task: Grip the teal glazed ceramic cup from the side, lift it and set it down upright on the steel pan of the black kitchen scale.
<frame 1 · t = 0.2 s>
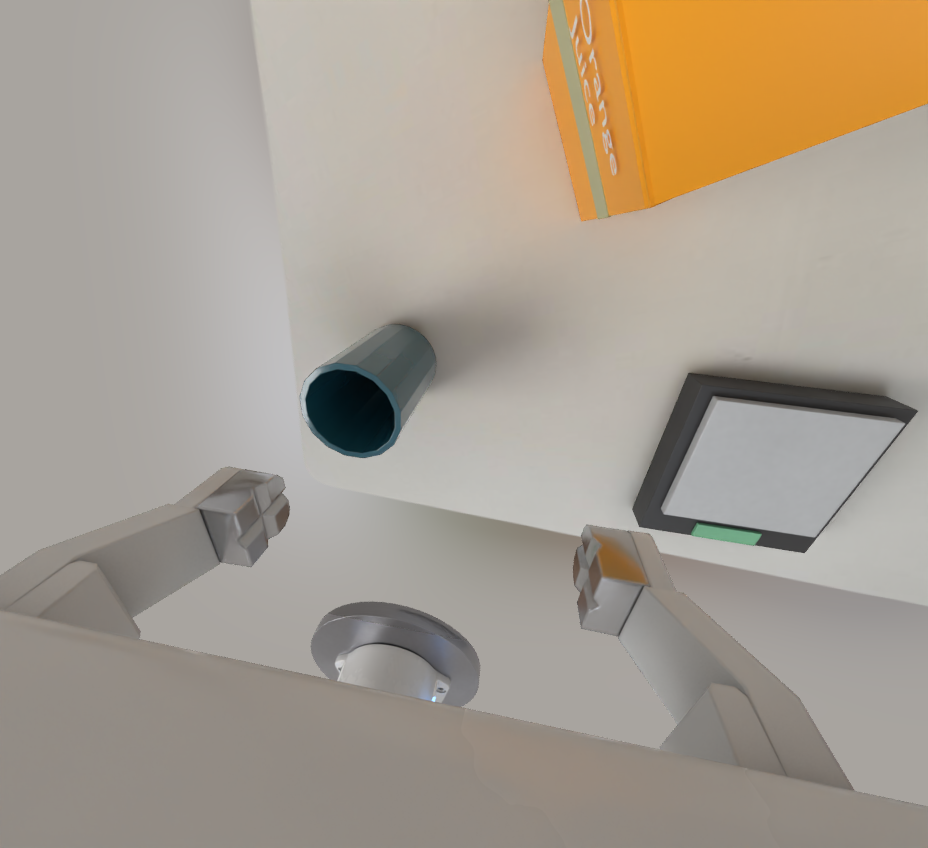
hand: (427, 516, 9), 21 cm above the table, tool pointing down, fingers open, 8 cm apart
scale: (742, 460, 30), on the table
orange juice: (626, 114, 21), on the table
cup: (399, 361, 30), on the table
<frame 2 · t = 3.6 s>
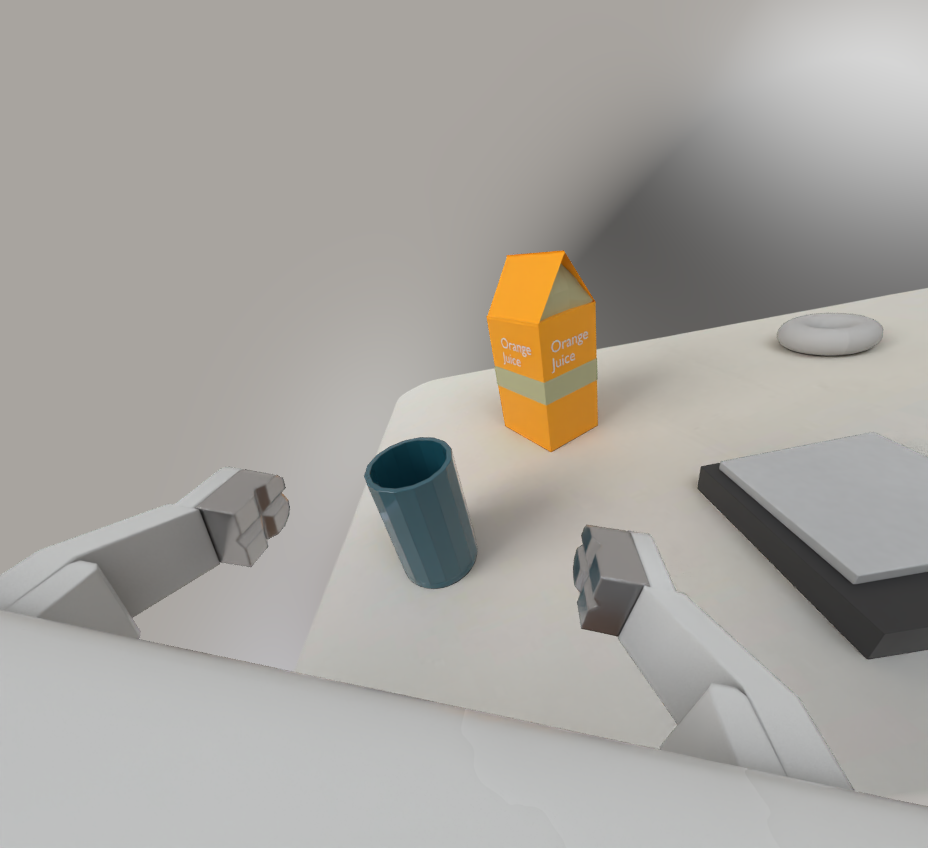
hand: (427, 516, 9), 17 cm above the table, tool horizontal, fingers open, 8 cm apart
donut: (822, 346, 47), on the table
scale: (864, 533, 24), on the table
orange juice: (549, 426, 44), on the table
cup: (440, 554, 30), on the table
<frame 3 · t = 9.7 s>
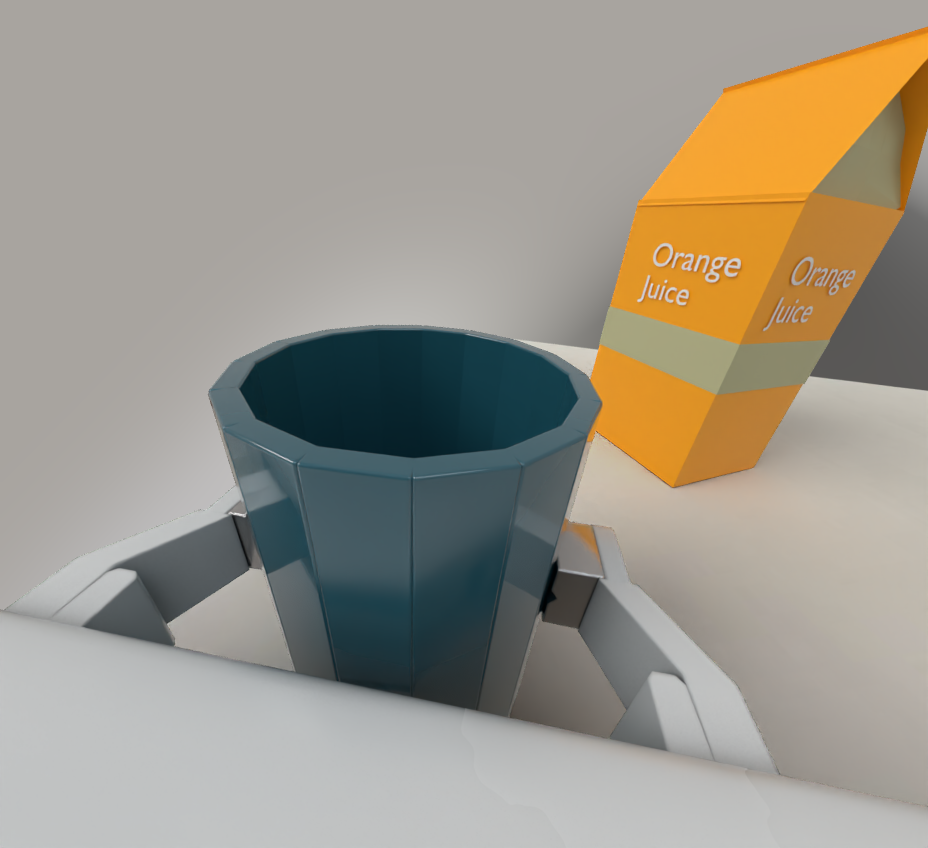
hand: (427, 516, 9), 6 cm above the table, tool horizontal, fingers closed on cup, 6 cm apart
orange juice: (658, 443, 25), on the table
cup: (416, 661, 11), on the table, touching gripper
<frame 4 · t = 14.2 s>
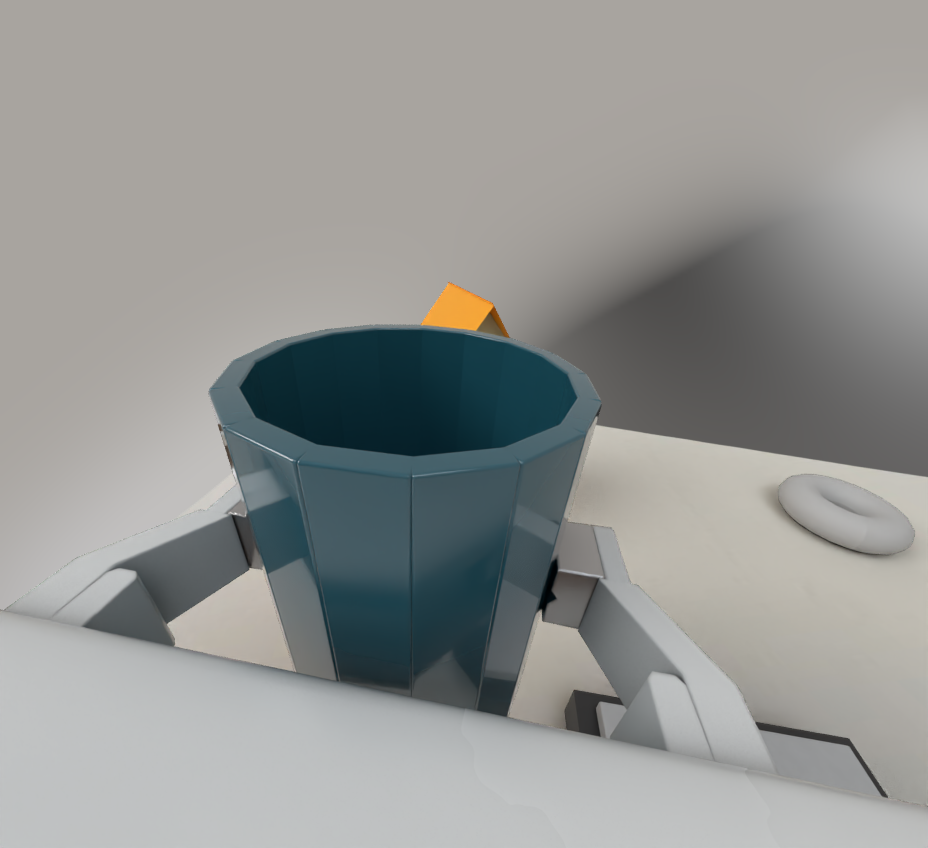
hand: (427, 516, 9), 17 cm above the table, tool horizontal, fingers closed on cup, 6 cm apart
donut: (829, 524, 36), on the table
orange juice: (450, 510, 34), on the table
cup: (415, 660, 11), point 11 cm above the table, touching gripper
when the fingers open (9 cm above the table, at t = 18.9 s): cup stays where it is, resting on scale.
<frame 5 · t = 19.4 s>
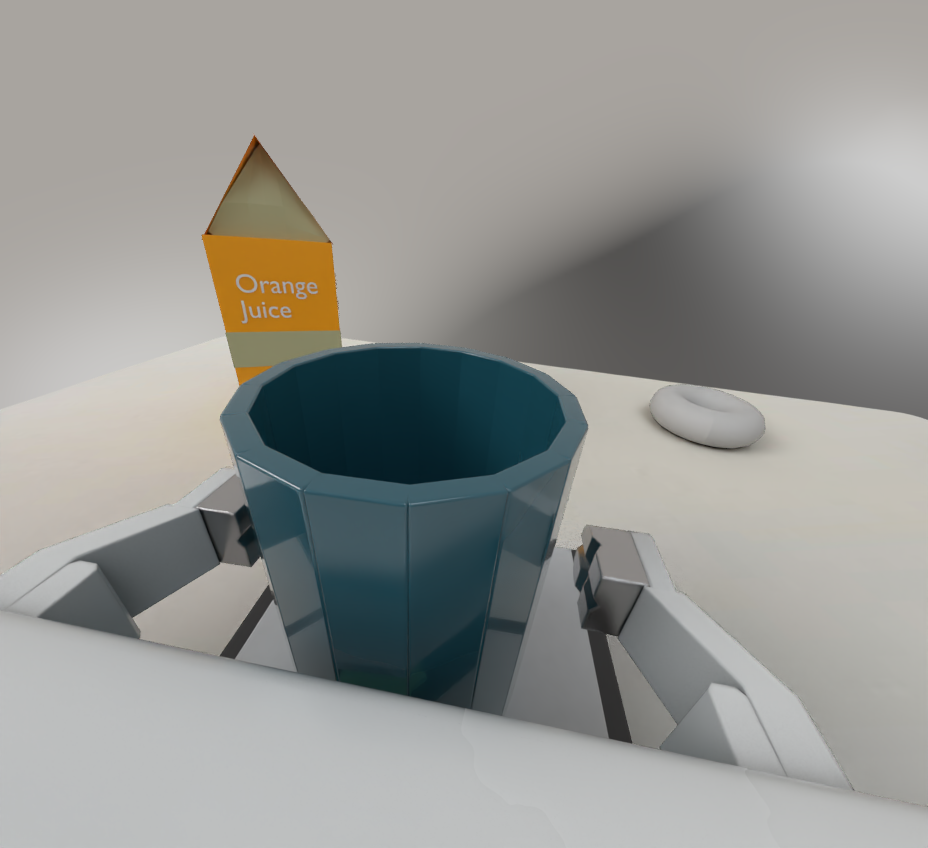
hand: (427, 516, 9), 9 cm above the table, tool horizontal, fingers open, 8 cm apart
donut: (696, 429, 36), on the table
scale: (416, 718, 13), on the table
orange juice: (303, 411, 33), on the table
cup: (413, 665, 12), point 3 cm above the table, touching scale
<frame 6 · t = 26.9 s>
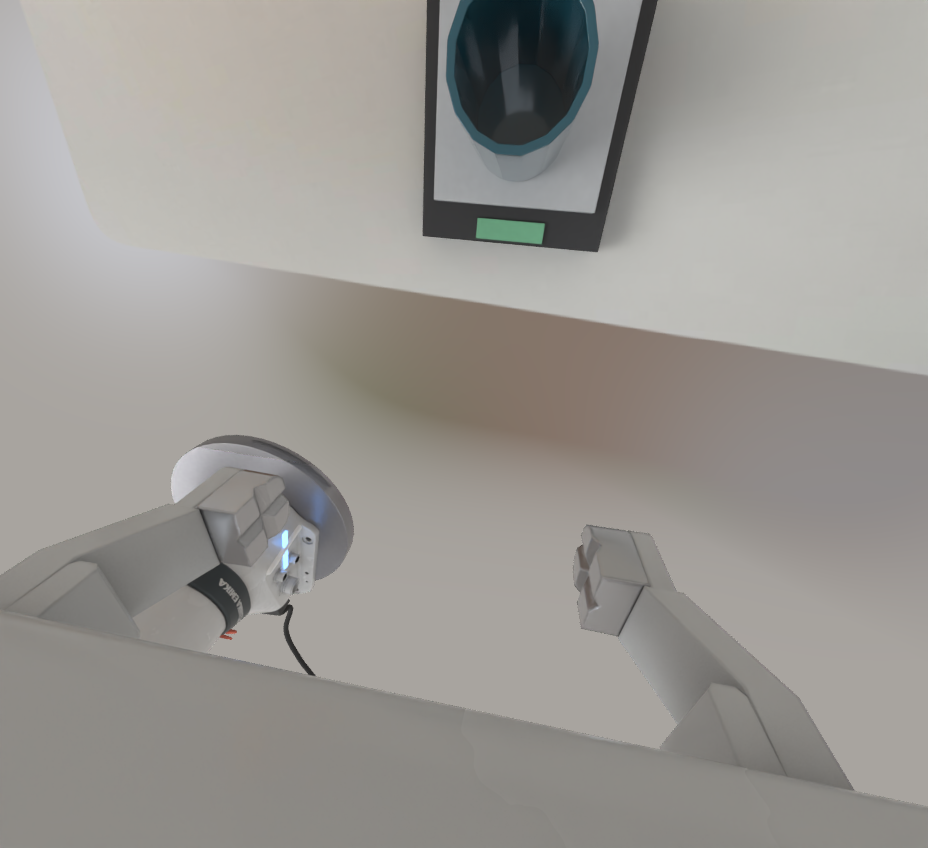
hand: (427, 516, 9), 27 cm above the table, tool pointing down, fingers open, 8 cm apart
scale: (522, 139, 27), on the table
cup: (520, 125, 24), point 3 cm above the table, touching scale
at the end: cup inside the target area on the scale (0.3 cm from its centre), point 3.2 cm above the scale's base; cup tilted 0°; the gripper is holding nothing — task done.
